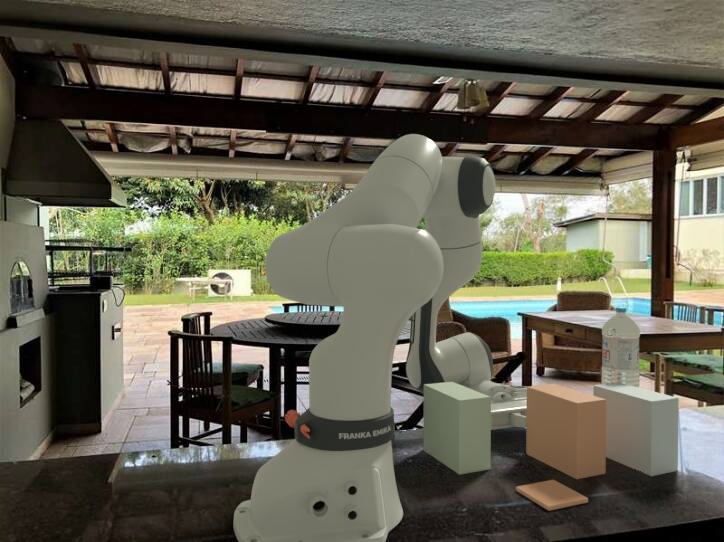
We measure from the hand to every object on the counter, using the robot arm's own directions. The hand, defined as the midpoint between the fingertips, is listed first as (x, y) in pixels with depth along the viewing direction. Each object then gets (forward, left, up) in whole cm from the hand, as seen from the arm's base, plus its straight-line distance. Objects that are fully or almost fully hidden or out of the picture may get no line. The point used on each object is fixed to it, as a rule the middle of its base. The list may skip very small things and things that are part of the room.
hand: (539, 424), depth 97 cm
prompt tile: (-11, -16, -5) cm, 20 cm away
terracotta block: (0, -6, -5) cm, 8 cm away
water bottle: (+22, +2, -5) cm, 23 cm away
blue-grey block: (+12, -10, -5) cm, 16 cm away
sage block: (-16, +2, -5) cm, 17 cm away
